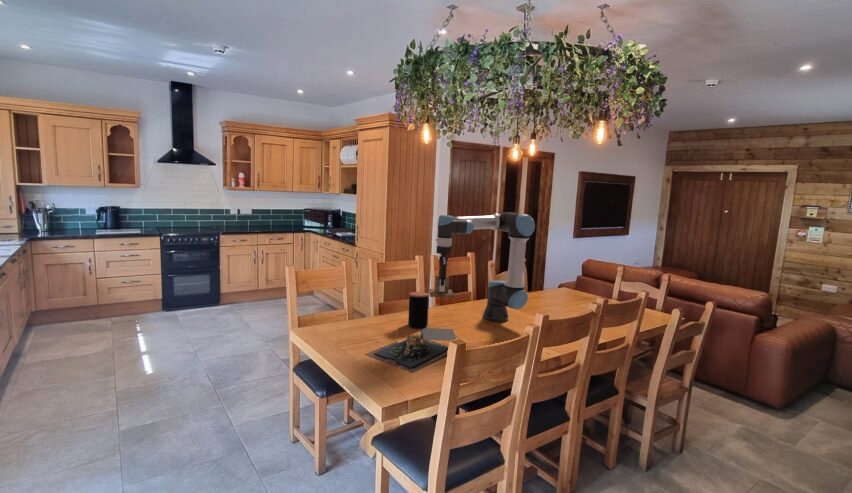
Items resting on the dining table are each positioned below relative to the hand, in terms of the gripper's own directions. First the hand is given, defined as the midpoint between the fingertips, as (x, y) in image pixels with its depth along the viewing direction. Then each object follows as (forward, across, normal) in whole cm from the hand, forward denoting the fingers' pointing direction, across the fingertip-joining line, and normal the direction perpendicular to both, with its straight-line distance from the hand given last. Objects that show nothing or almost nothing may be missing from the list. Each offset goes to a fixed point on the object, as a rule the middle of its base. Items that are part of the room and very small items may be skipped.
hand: (441, 290), depth 229 cm
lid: (+2, 0, 0) cm, 2 cm away
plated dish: (+24, +25, -14) cm, 38 cm away
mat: (+24, 0, 0) cm, 24 cm away
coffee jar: (+24, -12, -10) cm, 29 cm away
